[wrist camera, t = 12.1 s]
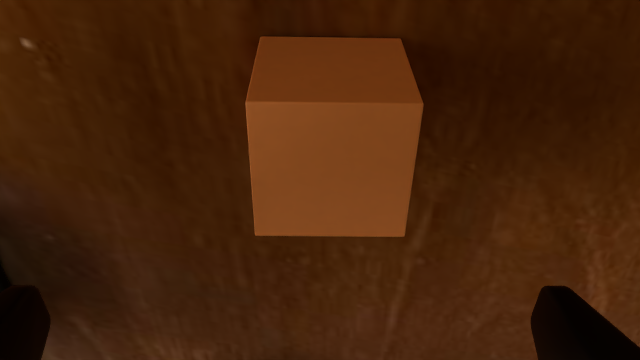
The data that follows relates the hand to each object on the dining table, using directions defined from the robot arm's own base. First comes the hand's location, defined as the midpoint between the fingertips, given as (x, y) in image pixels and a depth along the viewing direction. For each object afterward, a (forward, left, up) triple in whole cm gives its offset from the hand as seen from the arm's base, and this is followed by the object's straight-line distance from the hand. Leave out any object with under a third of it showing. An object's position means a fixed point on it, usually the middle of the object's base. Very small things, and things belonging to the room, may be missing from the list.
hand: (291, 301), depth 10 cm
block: (-1, +1, -9) cm, 9 cm away
